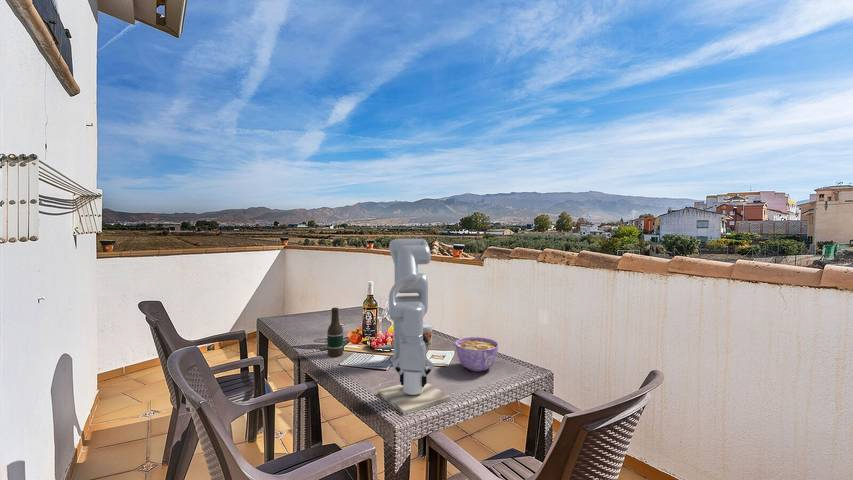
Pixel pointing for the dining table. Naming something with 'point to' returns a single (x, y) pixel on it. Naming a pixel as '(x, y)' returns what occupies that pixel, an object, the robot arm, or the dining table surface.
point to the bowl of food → (477, 352)
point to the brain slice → (384, 347)
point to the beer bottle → (335, 335)
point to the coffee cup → (427, 335)
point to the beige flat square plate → (413, 397)
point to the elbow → (412, 382)
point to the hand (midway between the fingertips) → (413, 384)
